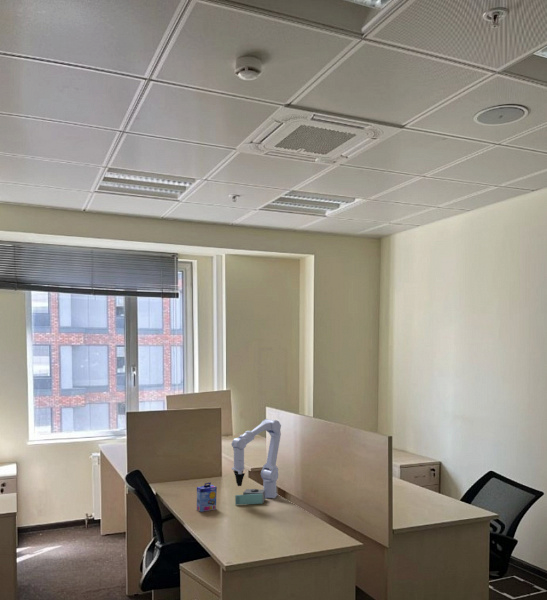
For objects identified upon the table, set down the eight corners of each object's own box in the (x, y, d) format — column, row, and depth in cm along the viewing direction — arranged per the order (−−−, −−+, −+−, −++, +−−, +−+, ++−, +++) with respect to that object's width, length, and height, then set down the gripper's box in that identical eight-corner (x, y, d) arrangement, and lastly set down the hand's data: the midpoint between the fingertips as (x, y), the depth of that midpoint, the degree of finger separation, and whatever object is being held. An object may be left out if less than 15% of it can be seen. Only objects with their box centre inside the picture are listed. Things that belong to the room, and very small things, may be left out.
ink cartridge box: (200, 512, 312) (200, 484, 313) (195, 509, 316) (196, 482, 317) (217, 509, 317) (217, 482, 318) (212, 507, 321) (212, 480, 322)
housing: (246, 498, 338) (246, 487, 338) (265, 499, 336) (265, 488, 336) (243, 502, 330) (243, 491, 330) (262, 503, 328) (262, 492, 328)
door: (235, 504, 325) (235, 495, 326) (263, 503, 327) (263, 493, 328) (235, 505, 324) (235, 495, 324) (263, 503, 326) (263, 494, 326)
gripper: (230, 457, 336) (230, 481, 335) (232, 462, 322) (232, 488, 321) (243, 457, 337) (243, 481, 336) (245, 462, 323) (245, 487, 322)
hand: (239, 484), depth 328 cm, fingers open, 6 cm apart
